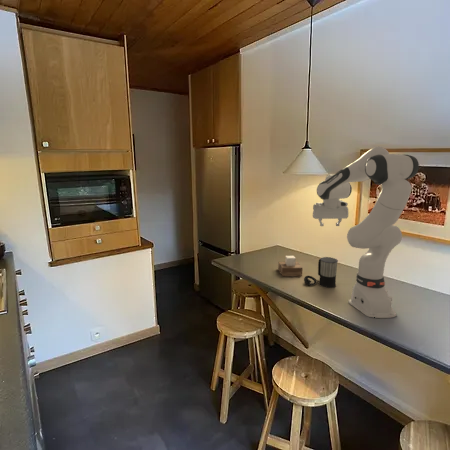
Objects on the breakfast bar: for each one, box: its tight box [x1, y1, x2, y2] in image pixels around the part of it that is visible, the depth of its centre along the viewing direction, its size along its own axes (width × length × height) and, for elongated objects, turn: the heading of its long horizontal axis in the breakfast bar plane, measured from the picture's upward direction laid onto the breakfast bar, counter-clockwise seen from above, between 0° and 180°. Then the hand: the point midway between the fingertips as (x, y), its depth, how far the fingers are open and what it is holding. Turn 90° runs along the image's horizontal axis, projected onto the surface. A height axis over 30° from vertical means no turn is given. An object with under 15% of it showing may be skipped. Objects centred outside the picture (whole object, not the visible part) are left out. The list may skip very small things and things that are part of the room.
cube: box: [284, 255, 297, 266], centre depth 194 cm, size 5×5×5 cm
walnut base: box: [277, 261, 303, 277], centre depth 195 cm, size 12×12×5 cm
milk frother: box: [303, 256, 339, 289], centre depth 175 cm, size 14×16×15 cm
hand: (329, 226), depth 185 cm, fingers open, 8 cm apart
